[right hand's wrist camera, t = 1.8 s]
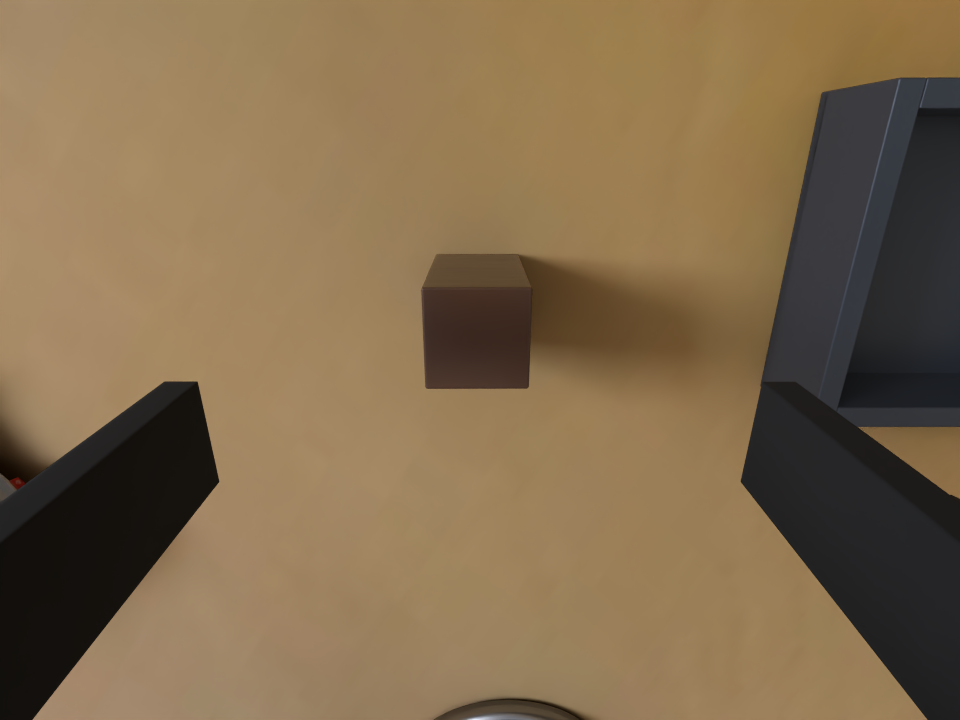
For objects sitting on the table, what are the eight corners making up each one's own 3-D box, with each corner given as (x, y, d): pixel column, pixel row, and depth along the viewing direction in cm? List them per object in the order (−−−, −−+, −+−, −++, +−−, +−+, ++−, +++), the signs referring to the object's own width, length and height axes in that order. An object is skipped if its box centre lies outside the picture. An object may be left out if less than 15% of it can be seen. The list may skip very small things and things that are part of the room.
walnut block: (516, 332, 27) (528, 389, 20) (438, 332, 27) (425, 389, 20) (518, 253, 25) (532, 287, 19) (435, 253, 25) (421, 287, 19)
